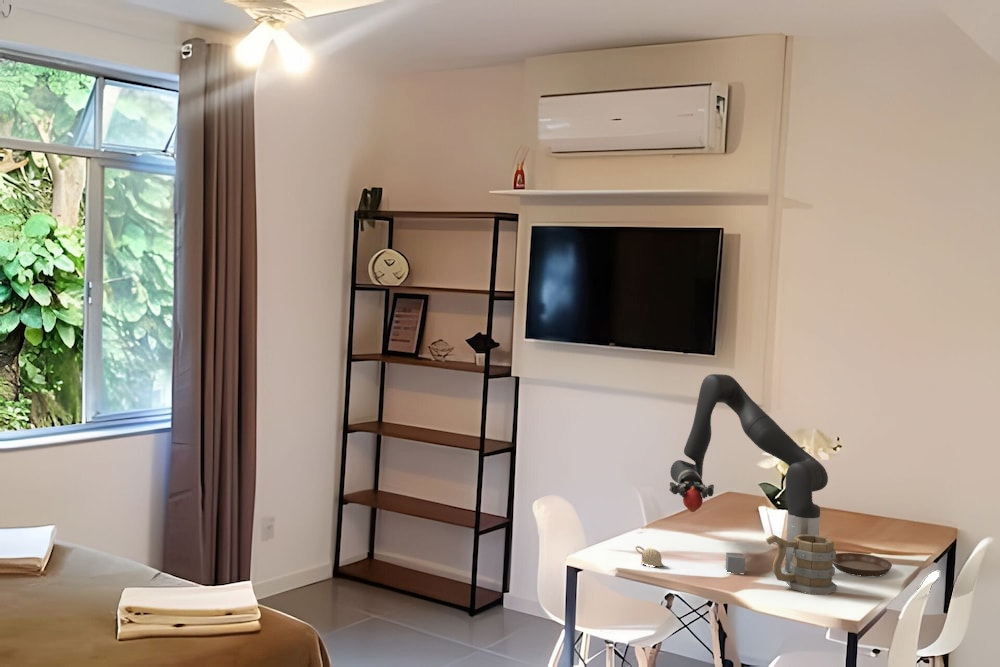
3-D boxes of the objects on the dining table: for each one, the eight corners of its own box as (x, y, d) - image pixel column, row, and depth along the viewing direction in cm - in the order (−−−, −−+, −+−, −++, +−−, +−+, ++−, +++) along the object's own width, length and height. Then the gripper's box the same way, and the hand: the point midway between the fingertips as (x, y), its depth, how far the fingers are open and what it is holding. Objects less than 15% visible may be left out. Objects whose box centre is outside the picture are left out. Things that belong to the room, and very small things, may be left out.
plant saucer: (883, 583, 286) (883, 572, 286) (822, 571, 296) (822, 561, 296) (897, 569, 301) (898, 559, 301) (839, 559, 311) (839, 549, 311)
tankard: (824, 581, 285) (827, 530, 284) (841, 595, 273) (844, 541, 272) (757, 579, 284) (759, 528, 284) (770, 593, 272) (773, 540, 271)
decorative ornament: (659, 569, 292) (660, 551, 292) (633, 564, 296) (634, 547, 296) (664, 565, 296) (665, 548, 295) (638, 561, 300) (638, 544, 299)
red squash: (688, 508, 303) (689, 483, 302) (705, 512, 299) (706, 486, 299) (679, 512, 298) (680, 486, 298) (696, 515, 295) (697, 489, 294)
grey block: (742, 570, 294) (743, 553, 294) (744, 574, 289) (745, 558, 289) (725, 568, 295) (726, 552, 295) (727, 573, 290) (727, 556, 290)
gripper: (667, 470, 313) (670, 480, 297) (713, 472, 312) (718, 483, 295) (666, 493, 314) (669, 505, 297) (712, 495, 312) (717, 508, 295)
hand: (694, 494), depth 296 cm, fingers closed on red squash, 5 cm apart
